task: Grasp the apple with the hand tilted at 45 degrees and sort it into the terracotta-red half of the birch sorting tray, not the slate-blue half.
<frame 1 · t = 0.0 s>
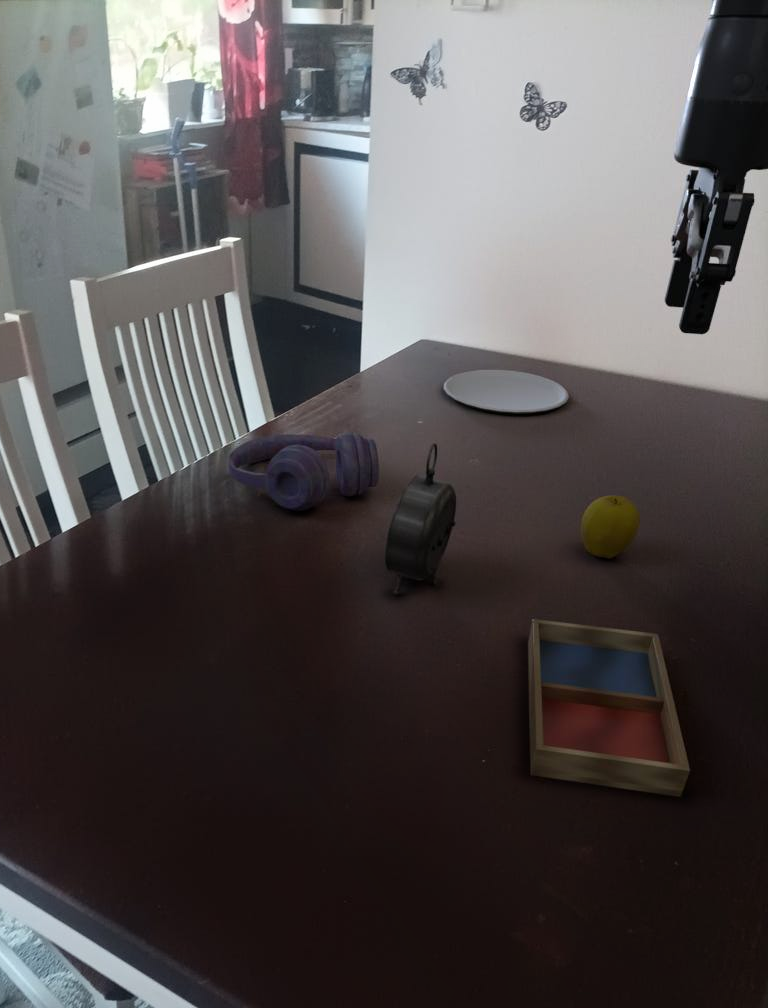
hand: (684, 318, 75), 32 cm above the table, tool pointing down, fingers open, 8 cm apart
sorting tray: (595, 712, 82), on the table
headphones: (299, 486, 122), on the table
alarm clock: (417, 582, 102), on the table
apple: (602, 556, 107), on the table
plate: (504, 397, 153), on the table
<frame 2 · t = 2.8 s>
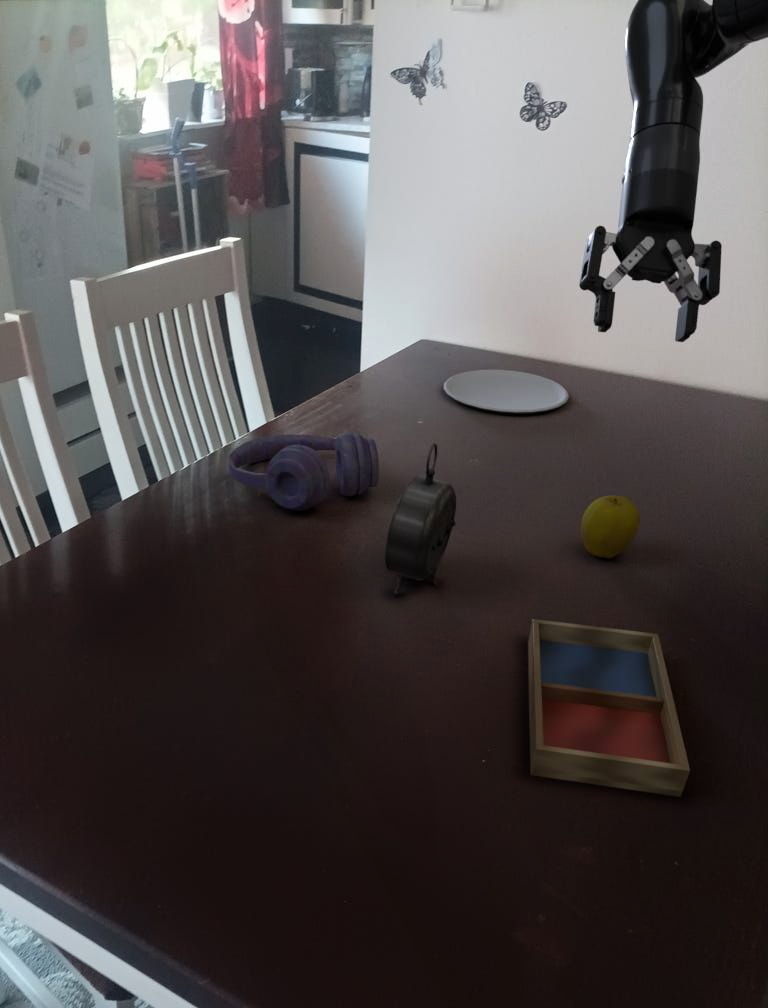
hand: (643, 334, 96), 25 cm above the table, tool tilted 35°, fingers open, 8 cm apart
nothing on the table moved.
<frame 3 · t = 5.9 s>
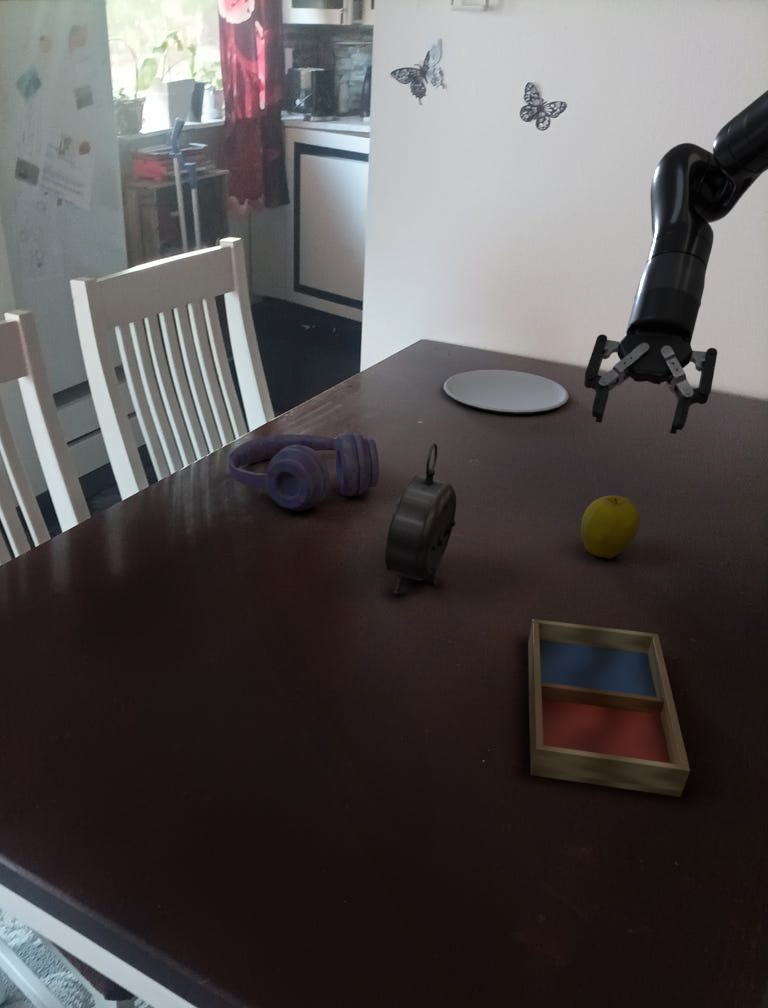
hand: (635, 425, 107), 13 cm above the table, tool tilted 45°, fingers open, 8 cm apart
nothing on the table moved.
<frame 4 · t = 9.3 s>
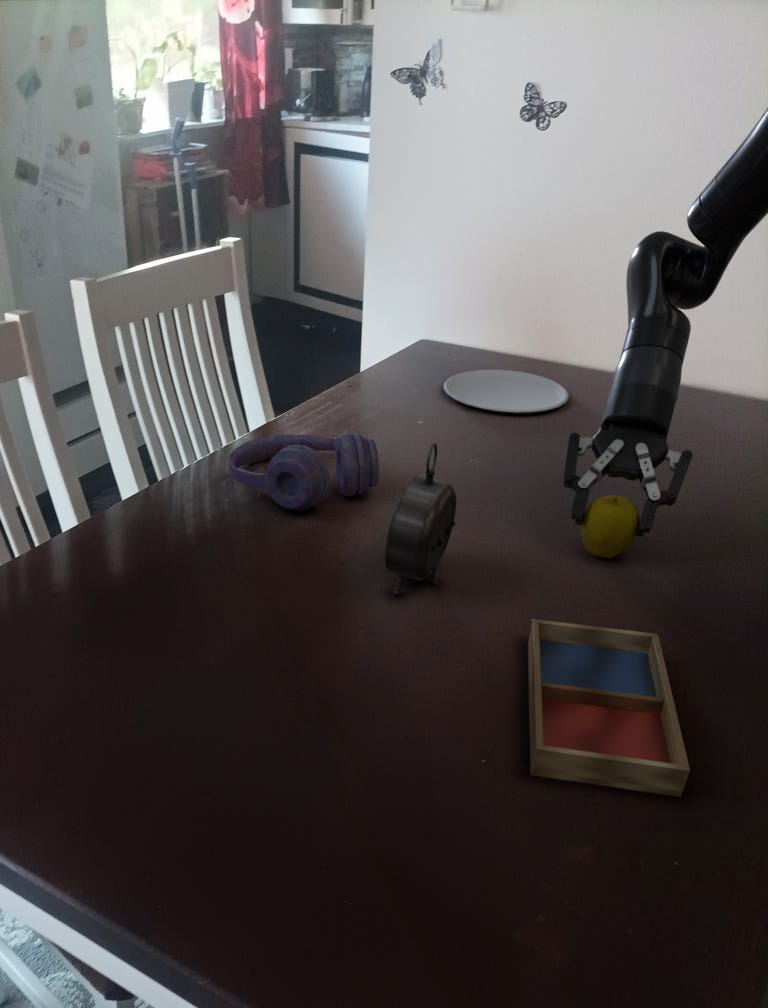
hand: (609, 528, 103), 4 cm above the table, tool tilted 45°, fingers closed on apple, 6 cm apart
apple: (602, 556, 107), on the table, touching gripper
everything else where it was.
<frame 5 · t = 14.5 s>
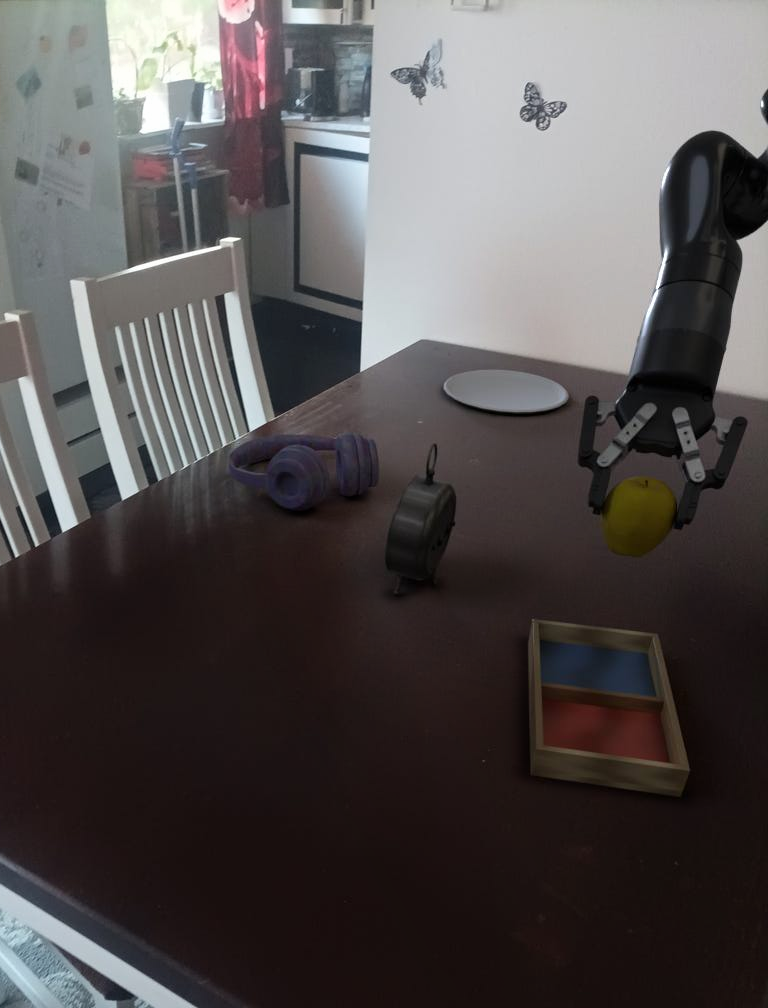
hand: (637, 518, 79), 16 cm above the table, tool tilted 45°, fingers closed on apple, 6 cm apart
apple: (628, 555, 83), point 11 cm above the table, touching gripper
everything else where it was.
when the fingers open (5 cm above the table, at t = 19.8 s): apple stays where it is, resting on sorting tray.
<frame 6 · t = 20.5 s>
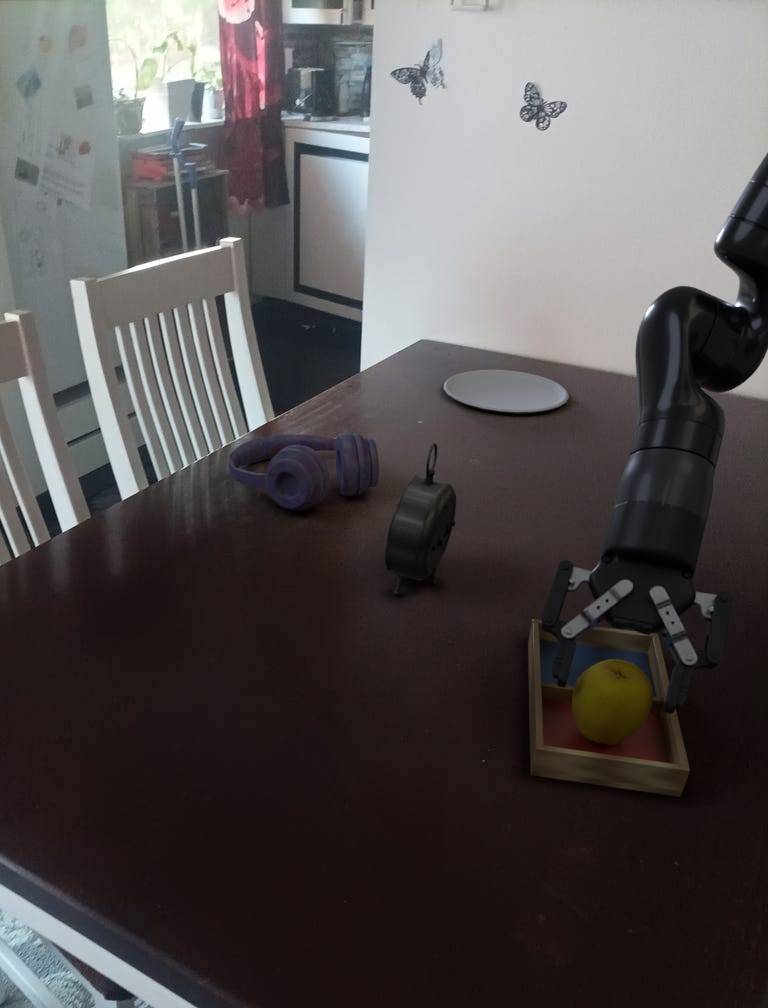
hand: (614, 698, 74), 6 cm above the table, tool tilted 45°, fingers open, 8 cm apart
apple: (601, 738, 78), point 1 cm above the table, touching sorting tray
everything else where it was.
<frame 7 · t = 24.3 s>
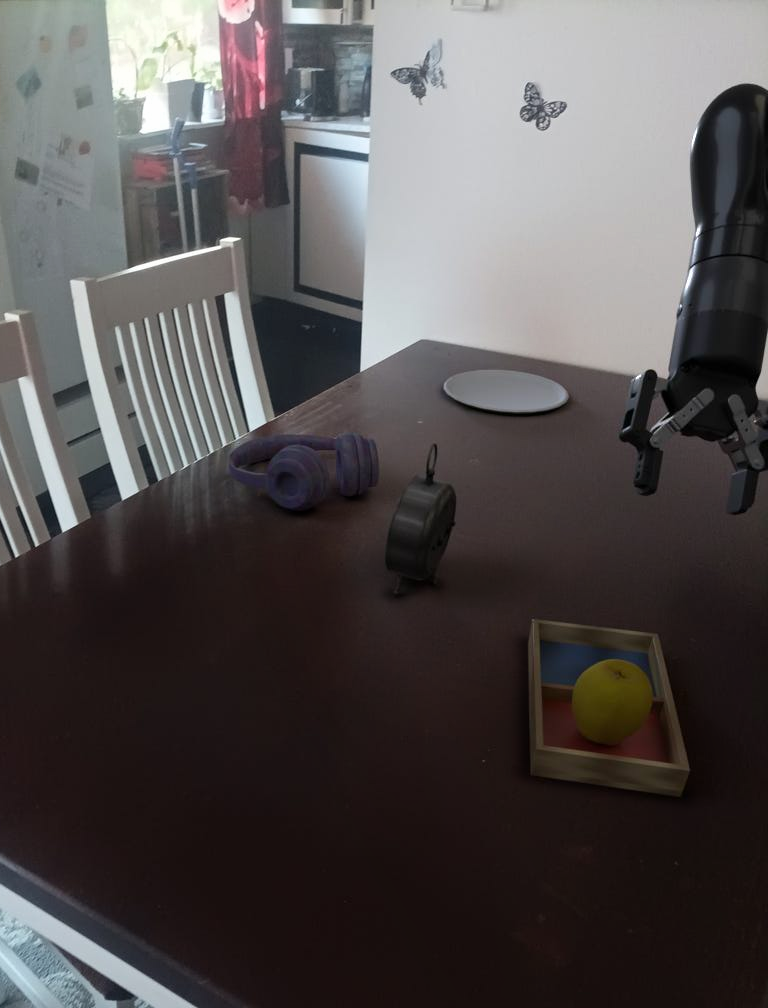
hand: (691, 503, 79), 17 cm above the table, tool tilted 35°, fingers open, 8 cm apart
nothing on the table moved.
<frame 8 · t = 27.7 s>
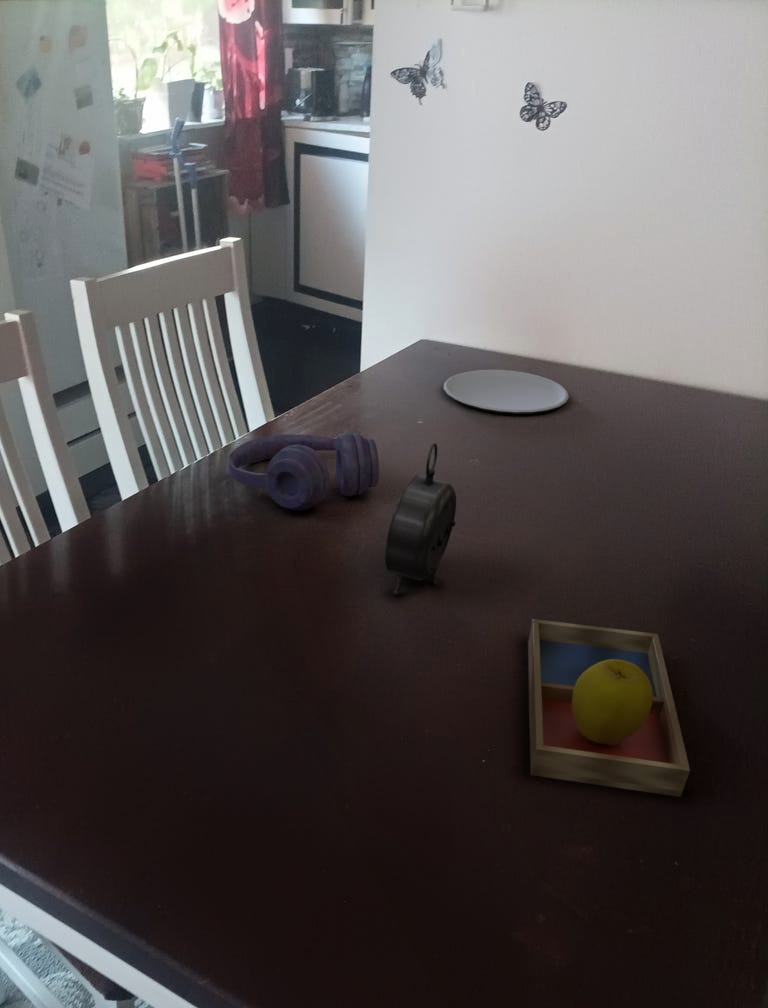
nothing on the table moved.
at the end: apple inside the target area on the sorting tray (0.3 cm from its centre), point 0.8 cm above the sorting tray's base; the gripper is holding nothing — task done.
